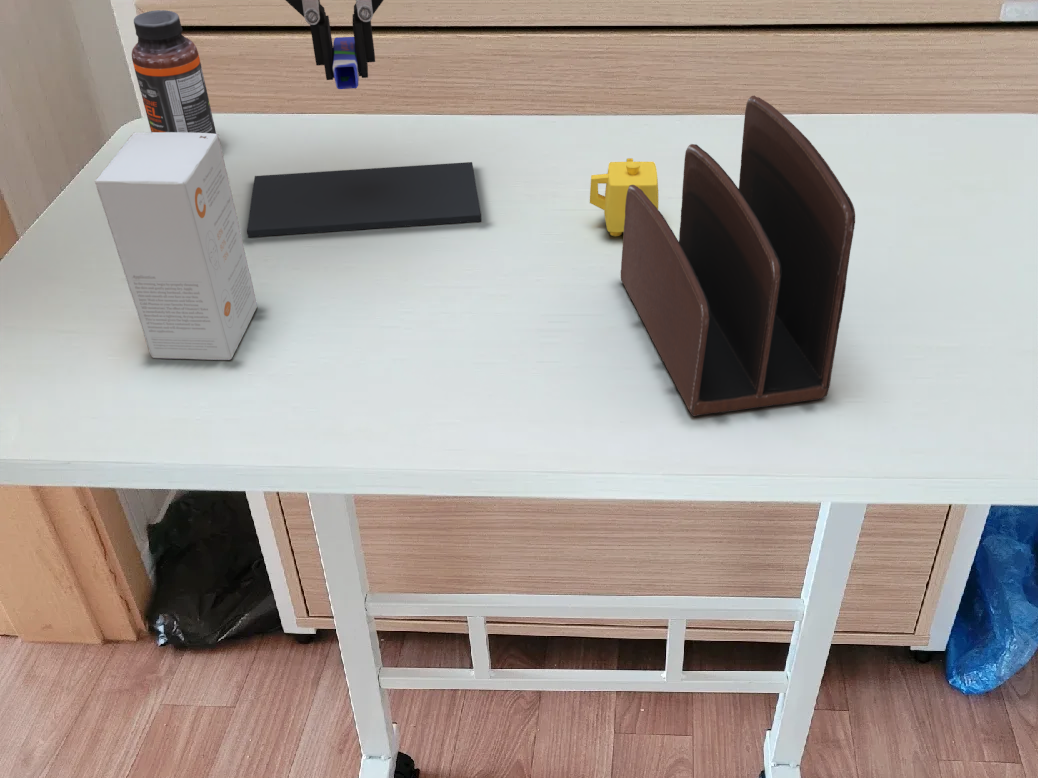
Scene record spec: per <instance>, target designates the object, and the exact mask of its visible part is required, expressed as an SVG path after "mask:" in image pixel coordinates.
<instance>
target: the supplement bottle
mask: <svg viewBox="0 0 1038 778" xmlns="http://www.w3.org/2000/svg"><path fill="white" fill-rule="evenodd" d="M133 26H134V29H135V35H136V36H137V43H136V44H135V45H134V46H133V48H132V49H131V60H132V65H133V69H134V72H135V76H136V80H137V83H138V88H139V92H140V95H141V99H142V102H143V106H144V111H145V115H146V117H147V121H148V125H149V129H150V132H189V133H213V134H217V131H216V130H217V129H216V127H215V126H216V125H215V122H214V117H213V113H212V108H211V104H210V99H209V94H208V89H207V85H206V80H205V75H204V72H203V67H202V63H201V59H200V53H199V51H198V48H197V46H196V44H195V43H194V42H193V40H191V39H190V38H188V37H186V36H184V35H183V34H182V32H183V27H182V24H181V20H180V16H179V14H178V13H177V12H175V11H172V10H165V9H163V10H160V9H157V10H149V11H145V12H143V13H142V12H141V13H140V14H138V15H136V16H135V17H134V18H133Z"/></svg>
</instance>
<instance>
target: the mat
mask: <svg viewBox="0 0 1038 778" xmlns="http://www.w3.org/2000/svg"><path fill="white" fill-rule="evenodd" d="M474 171H475V170H474V165H473V162H472V161H467V162H466V161H465V162H451V163H450V162H449V163H435V164H421V165H419V164H418V165H406V166H405V165H403V166H388V167H374V168H373V167H372V168H359V169H357V168H356V169H340V170H328V171H327V170H325V171H310V172H295V173H281V174H280V173H278V174H266V175H265V174H264V175H254V179H253V186H252V192H251V200H250V206H249V213H248V222H247V229H246V233H247V237H248V238H254V237H255V238H257V237H271V236H285V235H299V234H316V233H328V232H331V233H332V232H345V231H359V230H375V229H376V230H377V229H389V228H405V227H418V226H431V225H432V226H434V225H435V226H436V225H449V224H462V223H463V224H464V223H479V222H482V214H481V207H480V201H479V194H478V189H477V183H476V177H475V172H474Z"/></svg>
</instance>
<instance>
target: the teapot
mask: <svg viewBox="0 0 1038 778" xmlns="http://www.w3.org/2000/svg"><path fill="white" fill-rule="evenodd" d="M658 179H659V178H658V171H657V164H656V162H654V161H634V158H632V157H631V158H628V157H627V158H626V160H625V161H610V162H609V163H608V167H607V173H601V174H591V175H590V189H589V204H591V205H593V206H595V207H597V208H599V209H601V210H603V211H604V212H603V213H604V220H605V225H606V231H607V232H608V233H609V235H610V236H613V237H620V236H621V235H622V234H623V233H624V221H625V204H626V196H627V191H628V188H629V186H630V185H635V186H637V187H638V188H639V189H641V190H642V191H643V192H644V194H645V195H646V196H647V197H648V198H649V200H650V201H651V202H652V203H653V204H654V205H655V207H656V208H657V209H658V210H659V180H658ZM599 184H601V185H602V184H605V191H604V195H602V194H600V193H599Z"/></svg>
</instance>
